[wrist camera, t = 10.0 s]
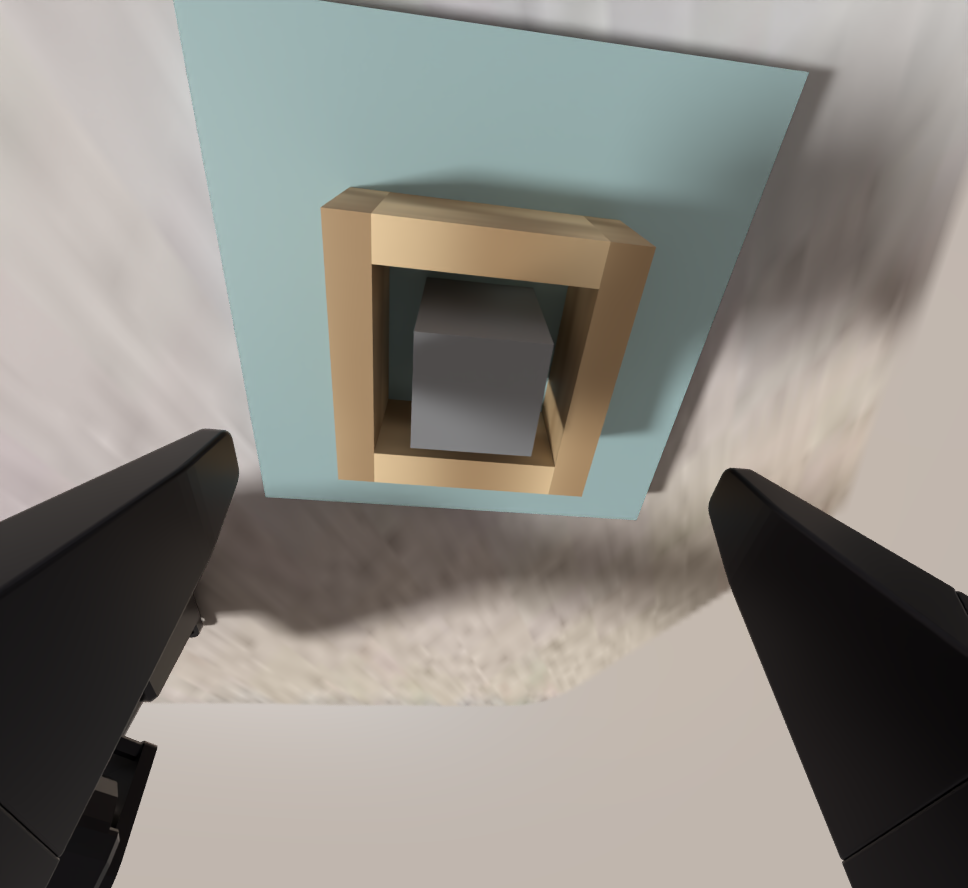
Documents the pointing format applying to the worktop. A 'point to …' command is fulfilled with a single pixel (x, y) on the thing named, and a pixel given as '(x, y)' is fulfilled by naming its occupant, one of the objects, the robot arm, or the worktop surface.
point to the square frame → (491, 253)
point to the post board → (474, 178)
